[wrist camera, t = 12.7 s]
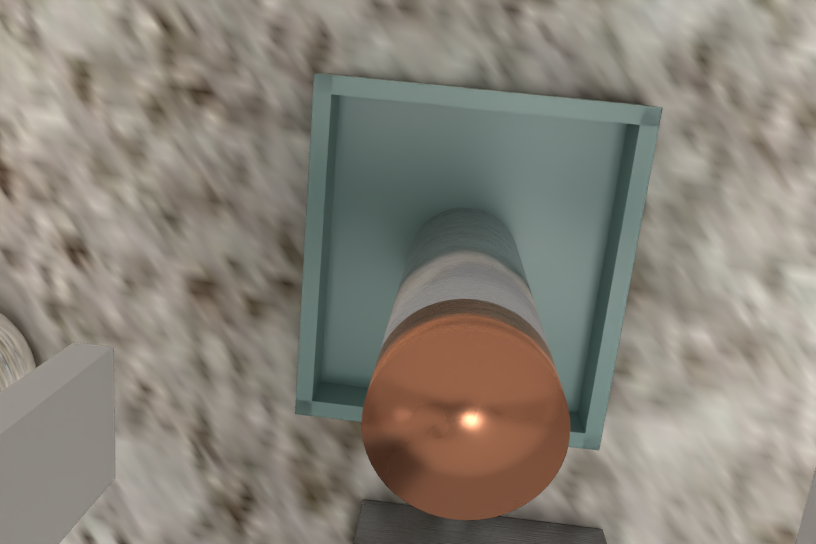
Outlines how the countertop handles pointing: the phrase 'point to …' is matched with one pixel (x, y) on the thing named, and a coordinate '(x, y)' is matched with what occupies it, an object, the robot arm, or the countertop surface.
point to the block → (460, 529)
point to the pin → (465, 377)
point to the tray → (480, 189)
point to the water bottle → (13, 354)
